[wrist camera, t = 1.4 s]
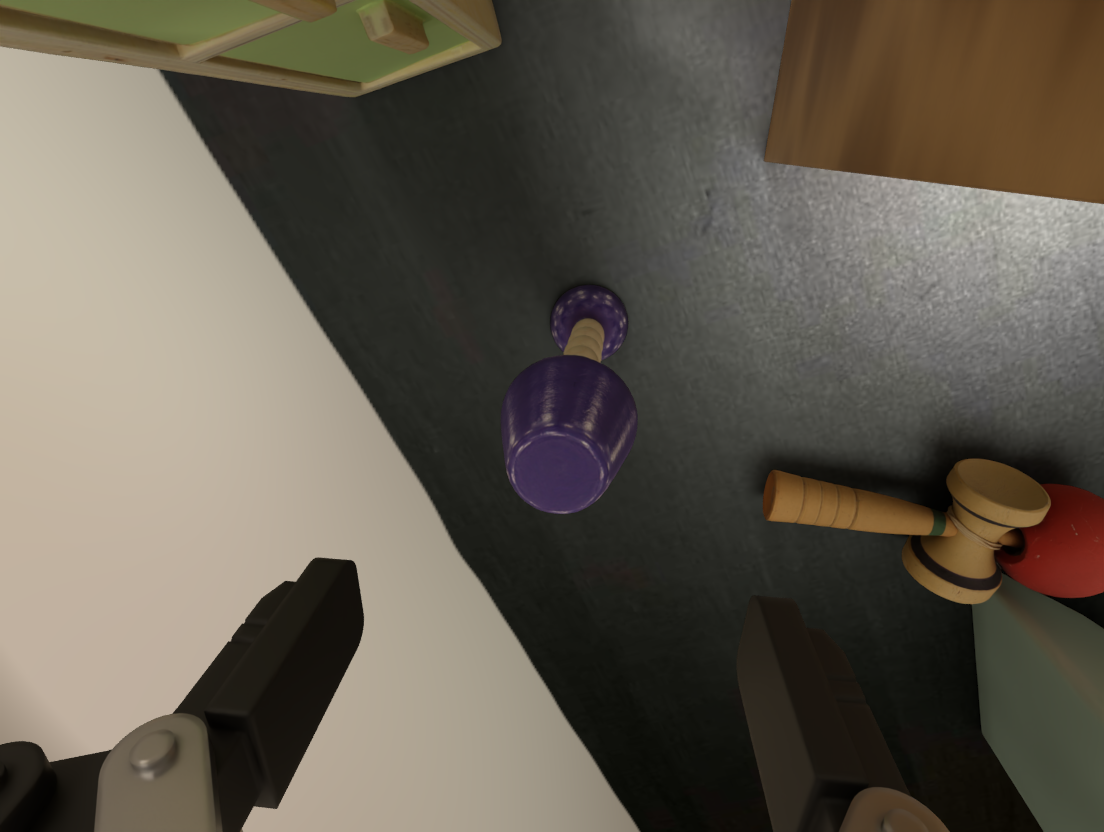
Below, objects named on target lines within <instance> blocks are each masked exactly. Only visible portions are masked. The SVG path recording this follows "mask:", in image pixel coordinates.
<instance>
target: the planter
mask: <svg viewBox="0 0 1104 832" xmlns="http://www.w3.org/2000/svg"><path fill="white" fill-rule="evenodd" d="M972 613H973V627H974V641H975V655H976V668H977V680H978V693H979V705H980V718H981V730H982V734H983V735H984V737H985V739H986V740H987V742H988V743H989V745H990V747H991V748H992V750H993V751H994V753H995V755H996V756H997V758H998V759H999V761H1000V763H1001V764H1002V766H1003V767H1004V769H1005V770H1006V772H1007V774H1008V775H1009V777H1010V778H1011V780H1012V782H1013V783H1014V785H1015V786H1016V788H1017V790H1018V791H1019V793H1020V794H1021V796H1022V798H1023V799H1024V801H1025V802H1026V804H1027V806H1028V807H1029V809H1030V810H1031V812H1032V814H1033V815H1034V817H1035V818H1036V820H1037V822H1038V823H1039V825H1040V826H1041V828H1042V829H1043V831H1044V832H1104V629H1103V628H1102V627H1100V626H1099V625H1097V624H1096V623H1094V622H1093V621H1091V620H1090V619H1088V618H1087V617H1085V616H1084V615H1082V614H1080V613H1078V612H1076V611H1074V610H1072V609H1070V608H1068V607H1066V606H1064V605H1063V604H1061V603H1059V602H1057V601H1055V600H1053V599H1051V598H1049V597H1047V596H1045V595H1043V594H1041V593H1039V592H1036V591H1034V590H1032V589H1029V588H1027V587H1026V586H1024V585H1022V584H1020V583H1019V582H1017V581H1015V580H1014V579H1012V578H1010V577H1008V576H1006V575H1004V574H1003V573H1002V582H1001V585H1000V587H999V588H998V589H997V590H996V592H995V593H994V594H993V595H992V596H991V598H989V599H988V600H987V601H985V602H983V603H978V604H972Z"/></svg>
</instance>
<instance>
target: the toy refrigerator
mask: <svg viewBox="0 0 1104 832" xmlns="http://www.w3.org/2000/svg"><path fill="white" fill-rule="evenodd" d="M501 41H502V39H501V34H500V30H499V26H498V22H497V18H496V14H495V10H494V6H493V2H492V0H0V46H2V47H8V48H14V49H22V50H27V51H34V52H40V53H47V54H54V55H61V56H69V57H76V58H84V59H91V60H98V61H106V62H113V63H119V64H126V65H133V66H140V67H147V68H154V69H161V70H168V71H175V72H182V73H189V74H195V75H202V76H209V77H215V78H222V79H229V80H235V81H242V82H248V83H255V84H261V85H268V86H275V87H282V88H288V89H294V90H302V91H309V92H316V93H323V94H330V95H336V96H344V97H357V96H360V95H363V94H366V93H369V92H372V91H374V90H377V89H381V88H383V87H386V86H389V85H392V84H394V83H397V82H400V81H403V80H406V79H409V78H412V77H414V76H417V75H420V74H423V73H426V72H428V71H431V70H434V69H437V68H440V67H442V66H445V65H448V64H451V63H454V62H457V61H459V60H462V59H465V58H468V57H471V56H474V55H476V54H479V53H482V52H485V51H488V50H491V49H493V48H496V47H498V46H499V45H501Z"/></svg>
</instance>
